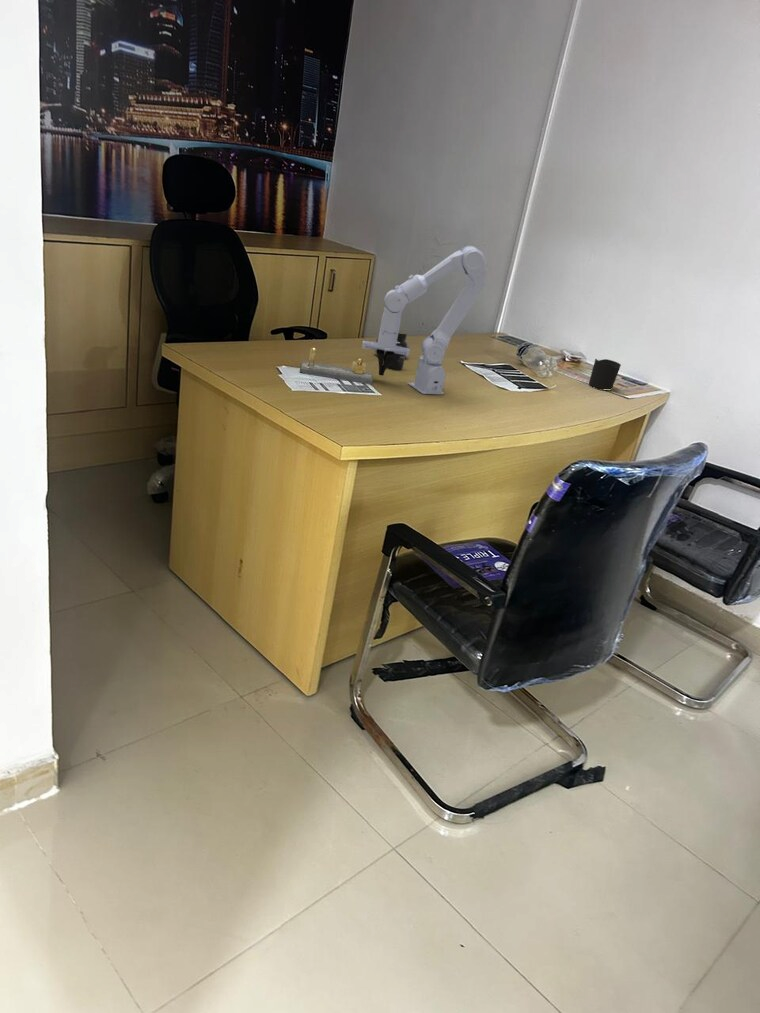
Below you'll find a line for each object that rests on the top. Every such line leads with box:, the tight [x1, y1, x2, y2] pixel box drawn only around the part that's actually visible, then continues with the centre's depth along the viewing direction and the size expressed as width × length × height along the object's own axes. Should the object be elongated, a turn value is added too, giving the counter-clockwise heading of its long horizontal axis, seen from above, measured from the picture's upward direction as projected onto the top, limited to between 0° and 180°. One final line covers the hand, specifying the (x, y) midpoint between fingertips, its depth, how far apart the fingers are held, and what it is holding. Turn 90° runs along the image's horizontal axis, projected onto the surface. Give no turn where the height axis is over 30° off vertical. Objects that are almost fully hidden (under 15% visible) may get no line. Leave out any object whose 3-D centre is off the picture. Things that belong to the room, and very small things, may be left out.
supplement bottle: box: [386, 330, 407, 371], centre depth 241 cm, size 7×7×12 cm
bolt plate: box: [299, 347, 373, 385], centre depth 222 cm, size 22×10×7 cm, turn 93°
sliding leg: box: [351, 357, 367, 374], centre depth 222 cm, size 4×6×4 cm, turn 3°
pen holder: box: [588, 358, 622, 390], centre depth 271 cm, size 9×9×10 cm
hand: (381, 374), depth 224 cm, fingers closed
